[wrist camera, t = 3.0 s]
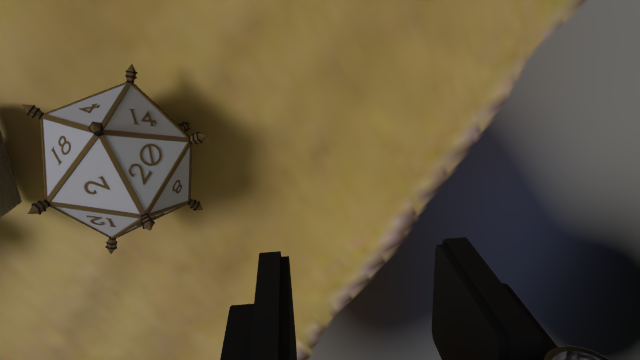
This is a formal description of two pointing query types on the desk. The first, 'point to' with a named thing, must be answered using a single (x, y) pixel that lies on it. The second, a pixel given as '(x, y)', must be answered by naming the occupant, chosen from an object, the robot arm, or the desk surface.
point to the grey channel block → (7, 183)
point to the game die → (115, 161)
